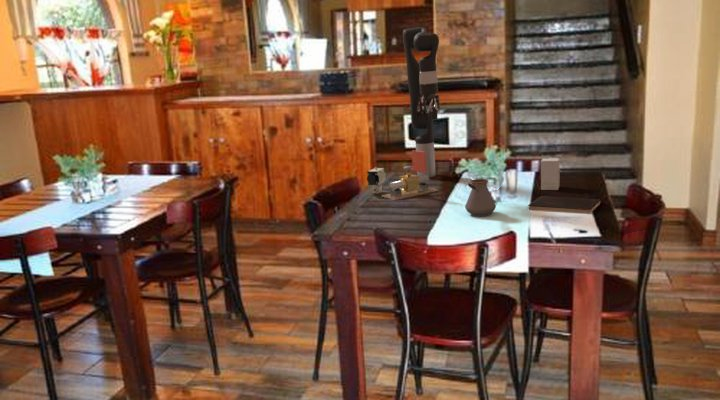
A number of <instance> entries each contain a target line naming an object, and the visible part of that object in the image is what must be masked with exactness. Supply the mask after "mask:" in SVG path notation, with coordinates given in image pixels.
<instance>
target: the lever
mask: <svg viewBox="0 0 720 400" xmlns="http://www.w3.org/2000/svg"><path fill="white" fill-rule="evenodd" d="M411 161H412V164H411V165H408V166H407V165H406V166H403V171H404V172H406V171H411V172H416V173H417V172H422V173H427V170H426V153H425V152H423V151H416V149H415V150H414V149H413V150H411Z"/></svg>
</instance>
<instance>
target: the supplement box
mask: <svg viewBox="0 0 720 400" xmlns="http://www.w3.org/2000/svg"><path fill="white" fill-rule="evenodd" d="M560 176H561V175H560V158H559V157H558V158H557V157H555V158H554V157H553V158H551V157H550V158H549V157H548V158H542V159H541V160H540V190H542V191H548V190H549V191H559V188H560Z"/></svg>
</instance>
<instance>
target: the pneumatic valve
mask: <svg viewBox="0 0 720 400" xmlns="http://www.w3.org/2000/svg"><path fill="white" fill-rule="evenodd" d="M366 173H367V176H366V181H367V184H368V186H372V193H374V194H378V195H379V193H380V194H382V193H383V188H382V187H383V185H382V183H385V182H386V180H387V172H386V169H385V167H376V166H375V167H374V168H372V169H369V170H367V172H366Z"/></svg>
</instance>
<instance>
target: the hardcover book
mask: <svg viewBox="0 0 720 400" xmlns="http://www.w3.org/2000/svg"><path fill="white" fill-rule="evenodd" d="M601 204H602V200H601V199H597V198H582V197H581V198H580V197H579V198H578V197H563V196H562V197H561V196H559V197H558V196H545V195H544V196H543V195H540V196H539V197H538V198H536V199H535V200H533V201H532V202H530V203H529V204H528V205H527V206H528V209H529V210H531V211H532V210H537V211H546V212H547V211H548V212H549V211H550V212H564V213H575V214H576V213H577V214H578V213H579V214H591V213H592V212H593V211H594V210H596V209H597V207H599V206H600V205H601Z"/></svg>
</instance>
